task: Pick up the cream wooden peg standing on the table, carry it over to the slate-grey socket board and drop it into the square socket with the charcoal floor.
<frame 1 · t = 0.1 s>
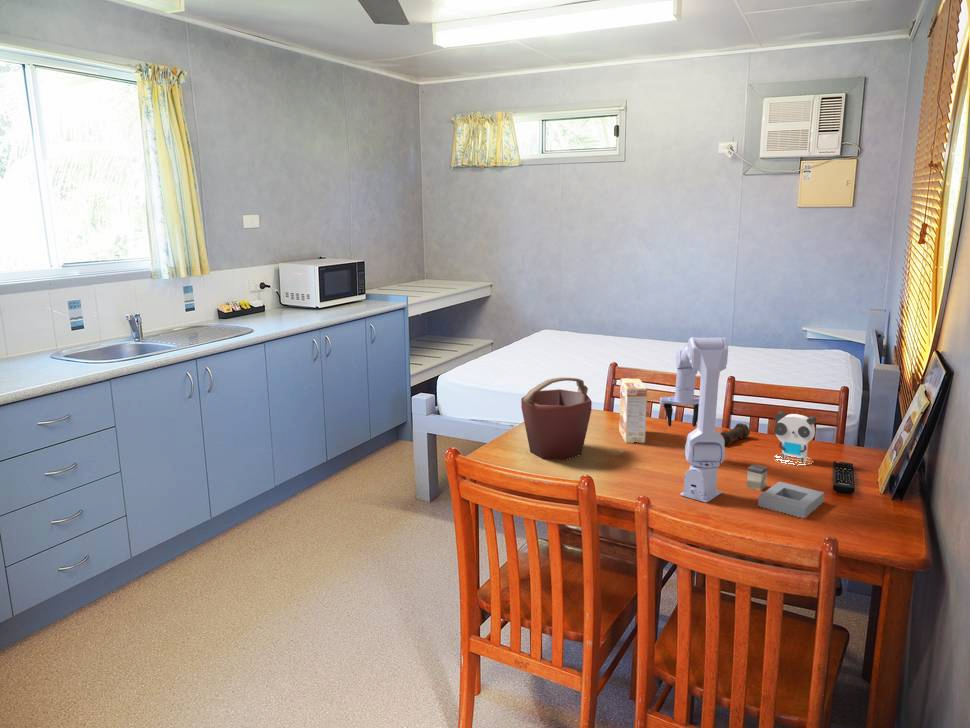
hand: (681, 425, 226), 11 cm above the table, tool pointing down, fingers open, 7 cm apart
coffeecake box: (631, 437, 250), on the table
dark brown cylinder: (730, 442, 243), on the table
peg: (756, 487, 202), on the table
panda figurine: (792, 460, 224), on the table
bucket: (557, 452, 234), on the table
socket board: (790, 504, 190), on the table
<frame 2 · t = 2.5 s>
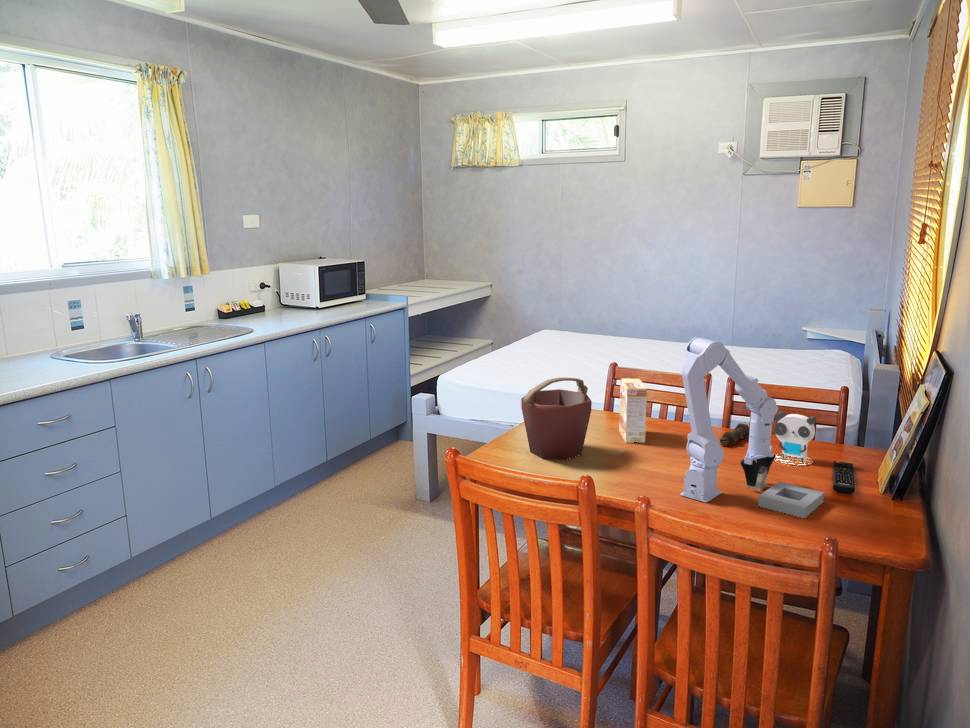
hand: (756, 481, 202), 2 cm above the table, tool pointing down, fingers open, 7 cm apart
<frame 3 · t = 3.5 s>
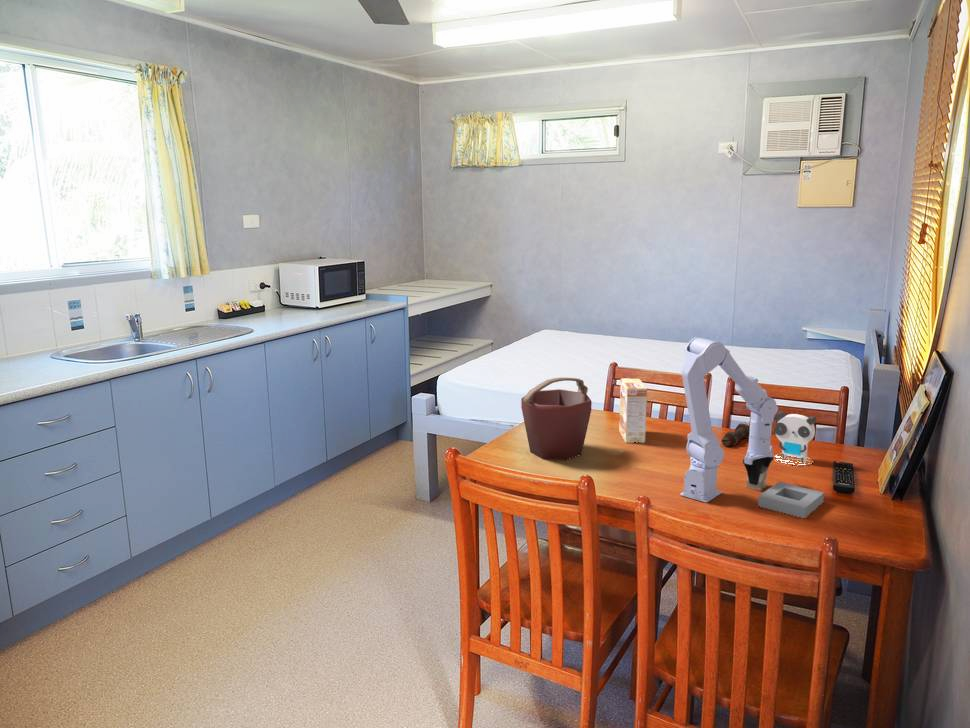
hand: (756, 481, 202), 2 cm above the table, tool pointing down, fingers closed on peg, 4 cm apart
peg: (756, 487, 202), on the table, touching gripper
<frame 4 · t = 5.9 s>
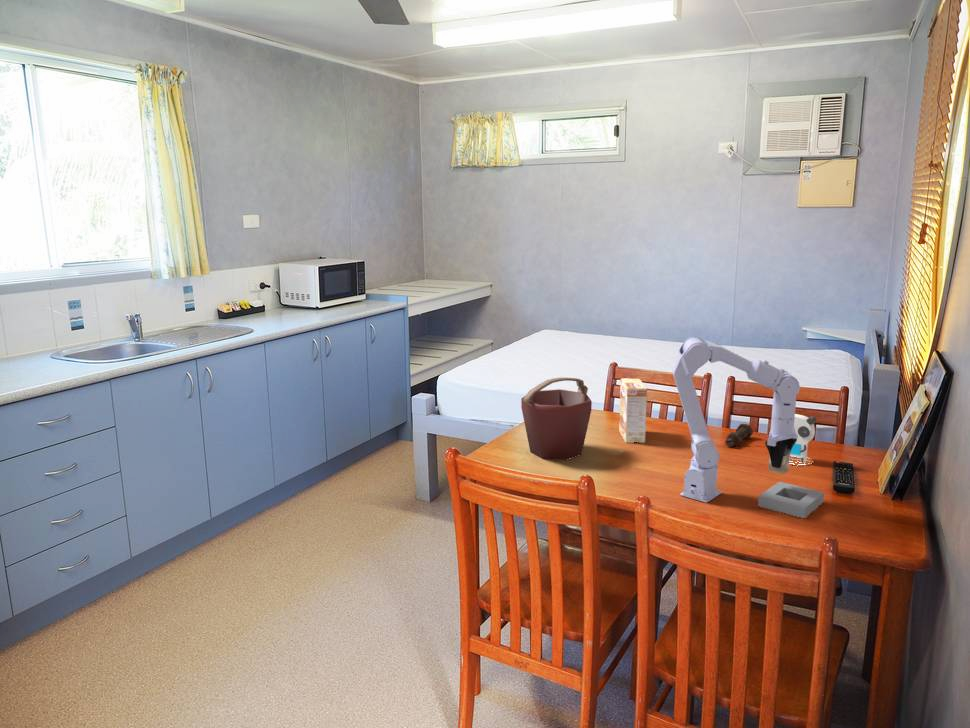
hand: (779, 464, 193), 9 cm above the table, tool pointing down, fingers closed on peg, 4 cm apart
peg: (778, 470, 193), point 8 cm above the table, touching gripper
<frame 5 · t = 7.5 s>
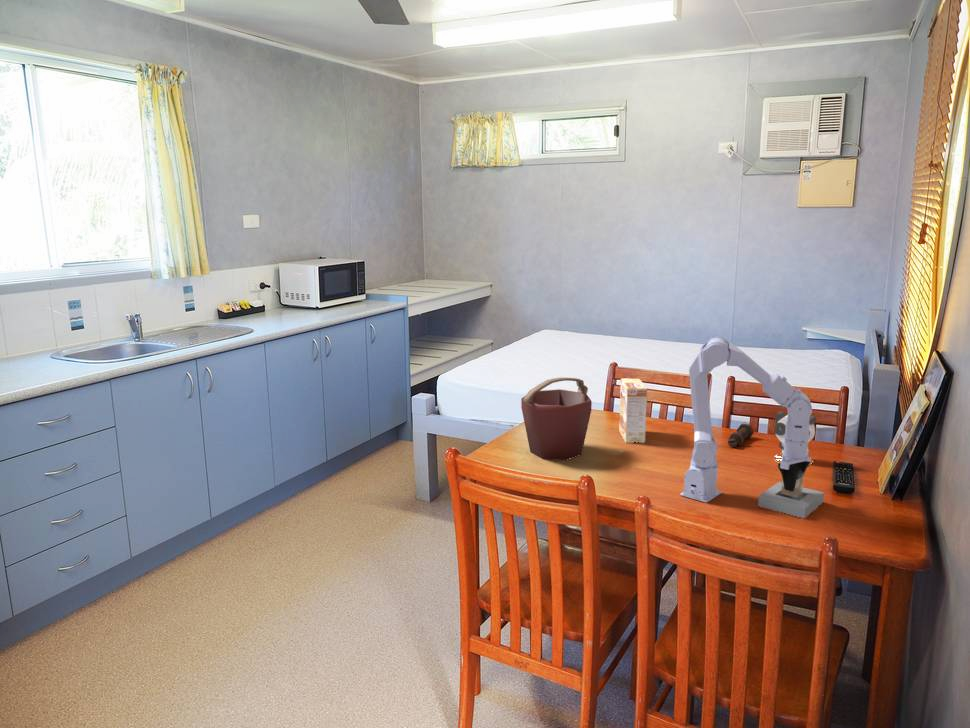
hand: (792, 487, 189), 5 cm above the table, tool pointing down, fingers closed on peg, 4 cm apart
peg: (791, 493, 189), point 3 cm above the table, touching gripper
when the fingers open (4 cm above the table, at t = 8.6 s): peg drops 2 cm, resting on socket board.
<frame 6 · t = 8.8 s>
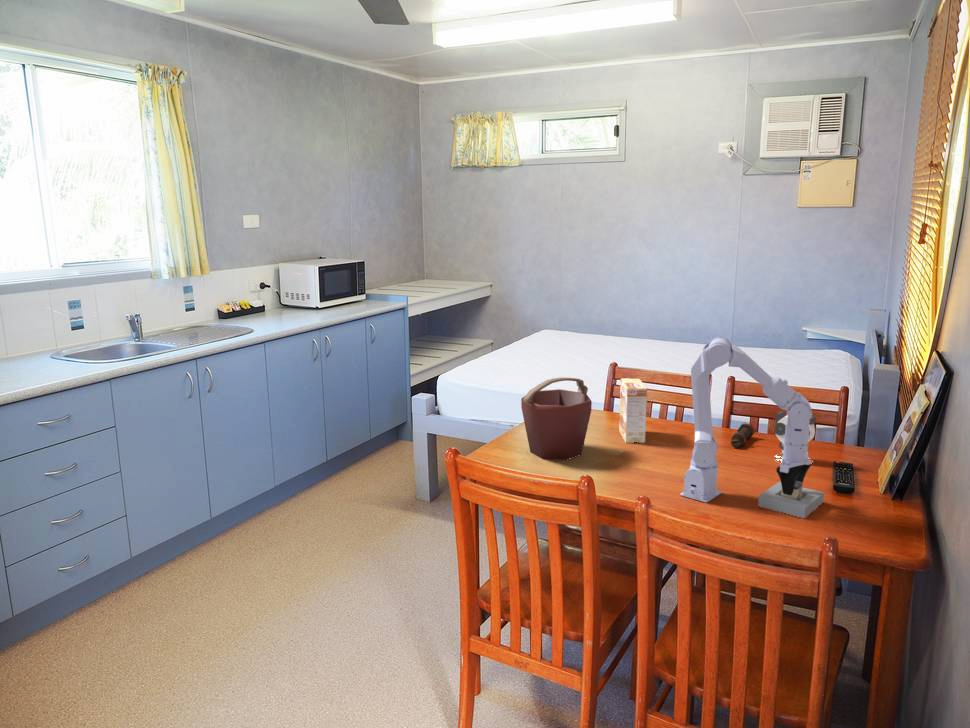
hand: (791, 490, 189), 4 cm above the table, tool pointing down, fingers open, 6 cm apart
peg: (790, 503, 190), resting on socket board
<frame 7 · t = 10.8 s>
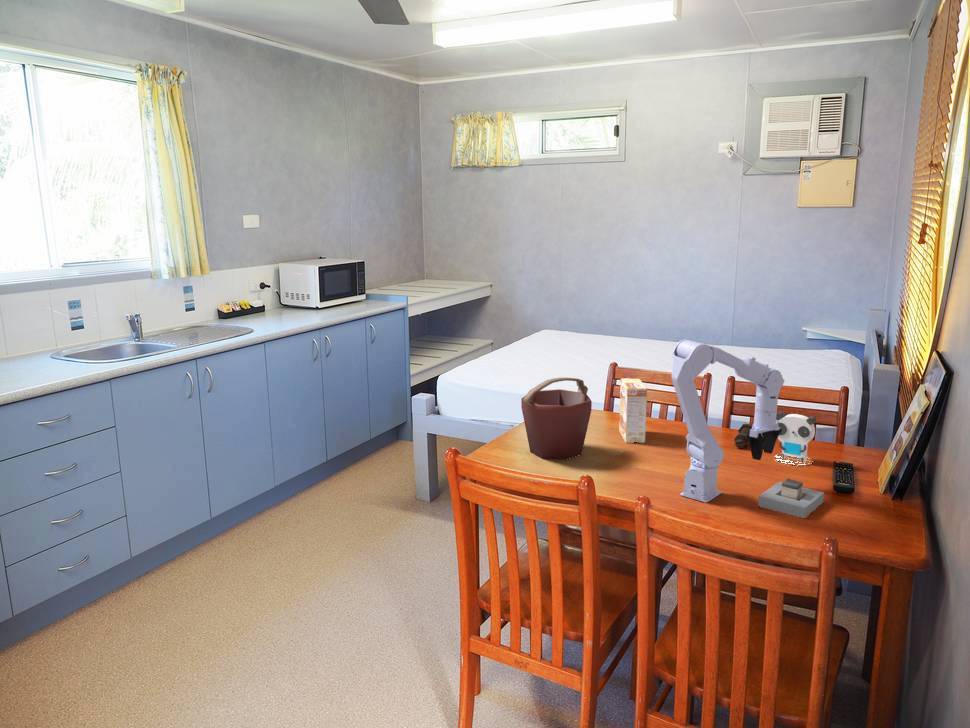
hand: (762, 455, 200), 9 cm above the table, tool pointing down, fingers open, 7 cm apart
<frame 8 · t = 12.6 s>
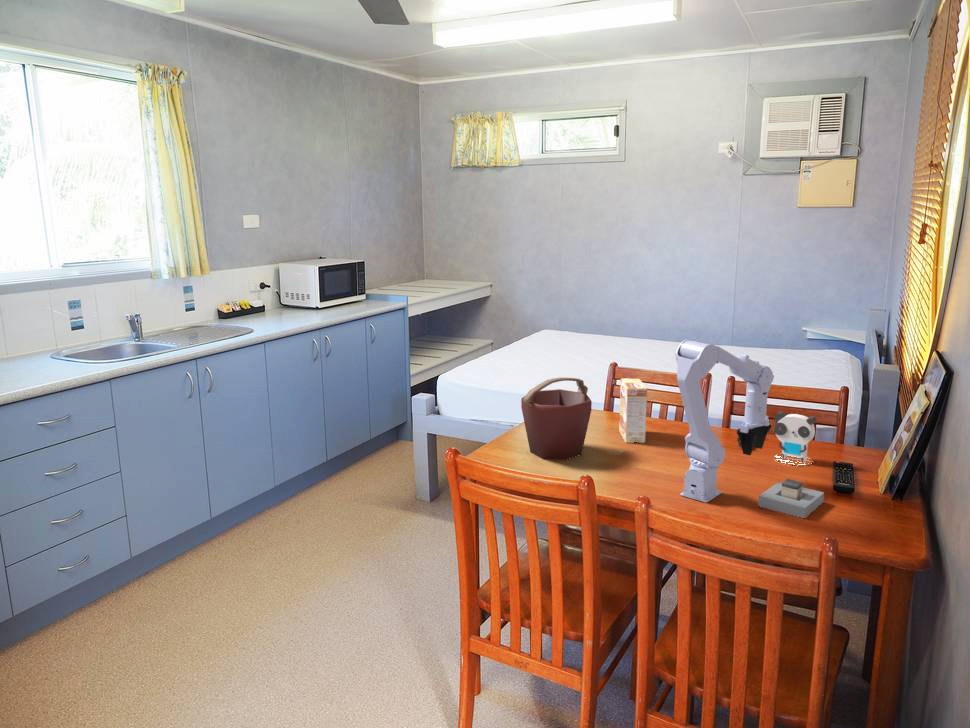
hand: (752, 451, 205), 9 cm above the table, tool pointing down, fingers open, 7 cm apart
at the end: peg 0.0 cm off-centre on the socket board, point 0.3 cm above the socket board's base; peg tilted 0°; the gripper is holding nothing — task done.
